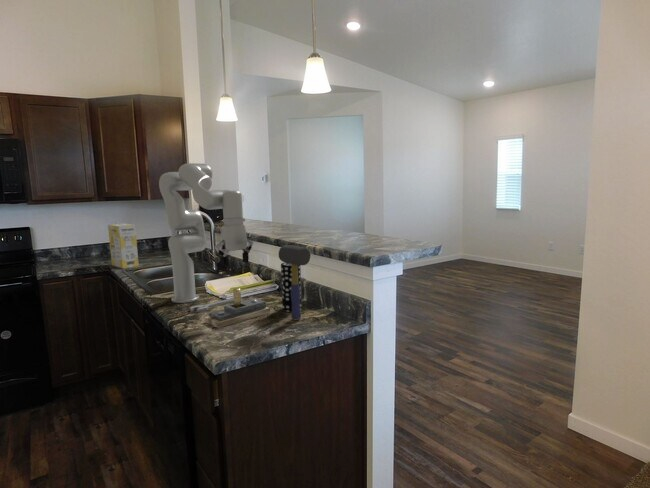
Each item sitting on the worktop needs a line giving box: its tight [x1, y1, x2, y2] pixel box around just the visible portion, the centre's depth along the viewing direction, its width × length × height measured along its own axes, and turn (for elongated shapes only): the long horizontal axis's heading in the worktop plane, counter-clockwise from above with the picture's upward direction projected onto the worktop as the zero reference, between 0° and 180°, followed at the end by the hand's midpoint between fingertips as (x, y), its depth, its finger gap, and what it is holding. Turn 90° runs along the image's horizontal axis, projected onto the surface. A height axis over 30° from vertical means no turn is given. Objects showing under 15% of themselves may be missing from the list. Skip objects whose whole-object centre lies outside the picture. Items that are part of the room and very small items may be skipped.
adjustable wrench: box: [189, 296, 234, 313], centre depth 192 cm, size 25×6×2 cm, turn 134°
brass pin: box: [232, 287, 242, 308], centre depth 174 cm, size 3×3×10 cm
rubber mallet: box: [278, 244, 311, 321], centre depth 168 cm, size 12×8×30 cm, turn 45°
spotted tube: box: [280, 262, 303, 313], centre depth 183 cm, size 8×8×20 cm
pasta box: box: [107, 223, 140, 269], centre depth 289 cm, size 18×10×28 cm, turn 47°
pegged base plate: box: [208, 297, 267, 321], centre depth 174 cm, size 8×22×4 cm, turn 135°
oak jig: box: [204, 306, 271, 329], centre depth 175 cm, size 10×25×2 cm, turn 135°
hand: (235, 264), depth 172 cm, fingers open, 9 cm apart
